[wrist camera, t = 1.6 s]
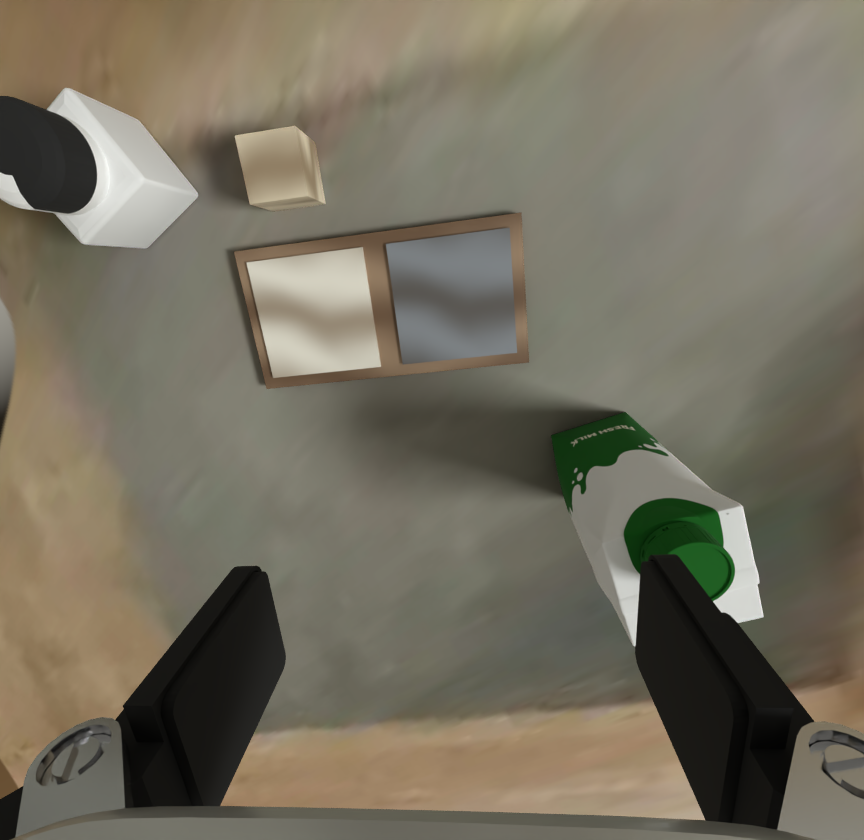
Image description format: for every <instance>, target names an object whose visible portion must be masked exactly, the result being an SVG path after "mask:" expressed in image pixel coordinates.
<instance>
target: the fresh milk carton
mask: <svg viewBox="0 0 864 840" xmlns="http://www.w3.org/2000/svg"><path fill="white" fill-rule="evenodd" d="M551 438H552V444H553V450H554V455H555V461H556V467H557V472H558V477H559V481H560V485H561V489H562V492H563V496H564V499H565V502H566V506H567V509H568V511H569V514H570V516H571V519H572V521H573V523H574V526H575V528H576V531H577V533H578V535H579V538H580V540H581V542H582V545H583V547H584V549H585V552H586V554H587V556H588V559H589V561H590V563H591V565H592V567H593V571H594V574H595V577H596V580H597V582H598V583H599V585H600V587H601V588H602V590H603V591H604V593H605V594H606V596H607V597H608V598H609V600H610V601H611V603H612V605H613V607H614V608H615V610H616V612H617V614H618V616H619V618H620V620H621V622H622V624H623V626H624V628H625V630H626V632H627V634H628V636H629V638H630V640H631V642H632V644H633V646H636V632H637V616H638V600H639V585H640V569H641V563H642V562H643V561H648V558H649V556H650V555H664V554H675V555H678V556H679V557H680V559H681V560H682V561H683V563H684V564H685V565H686V567H687V568H688V569H689V571H690V572H691V573H692V575H693V576H694V577H695V579H696V580H697V581H698V582H699V584H700V585H701V586H702V588H703V589H704V590H705V592H706V593H707V594H708V596H709V597H710V598H711V600H712V601H713V602H714V604H715V605H716V606H717V608H718V609H719V610H720V611H721V613H723V612H725V613H727V614H729V615H730V616H731V617H732V618H733V619H734V620H735V621H736V622H737V623H740V622H744V621H749V620H753V619H758V618H762V617H763V611H762V606H761V601H760V596H759V591H758V586H757V584H759V576H758V571H757V568H756V565H755V562H754V557H753V552H752V547H751V543H750V538H749V533H748V529H747V524H746V519H745V515H744V510H743V506H741V504H740V503H738V502H736V501H734V500H732V499H730V498H728V497H726V496H724V495H722V494H720V493H718V492H715V491H713V490H712V489H711V488H710V487H708V486H707V485H706V484H705V483H704V482H703V481H702V480H701V479H699V478H698V477H697V476H696V475H695V474H694V473H693V472H692V471H690V470H689V469H688V468H687V467H686V466H685V465H684V464H683V463H681V462H680V461H679V460H678V459H677V458H676V457H675V456H674V455H672V454H671V453H670V452H669V451H668V450H667V449H666V448H665V447H663V446H662V445H661V444H660V443H659V442H658V441H657V440H656V439H655V438H654V437H653V436H651V435H650V434H649V433H648V432H647V431H646V430H645V429H644V428H642V427H641V426H640V425H639V424H638V423H637V422H636V421H635V420H634V419H632V418H631V417H630V416H629V415H628V414H627V413H626V412H624V413H621V414H618V415H614V416H611V417H608V418H605V419H602V420H599V421H595V422H592V423H589V424H586V425H583V426H580V427H576V428H573V429H570V430H567V431H564V432H561V433H557V434H554V435H551Z"/></svg>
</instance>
